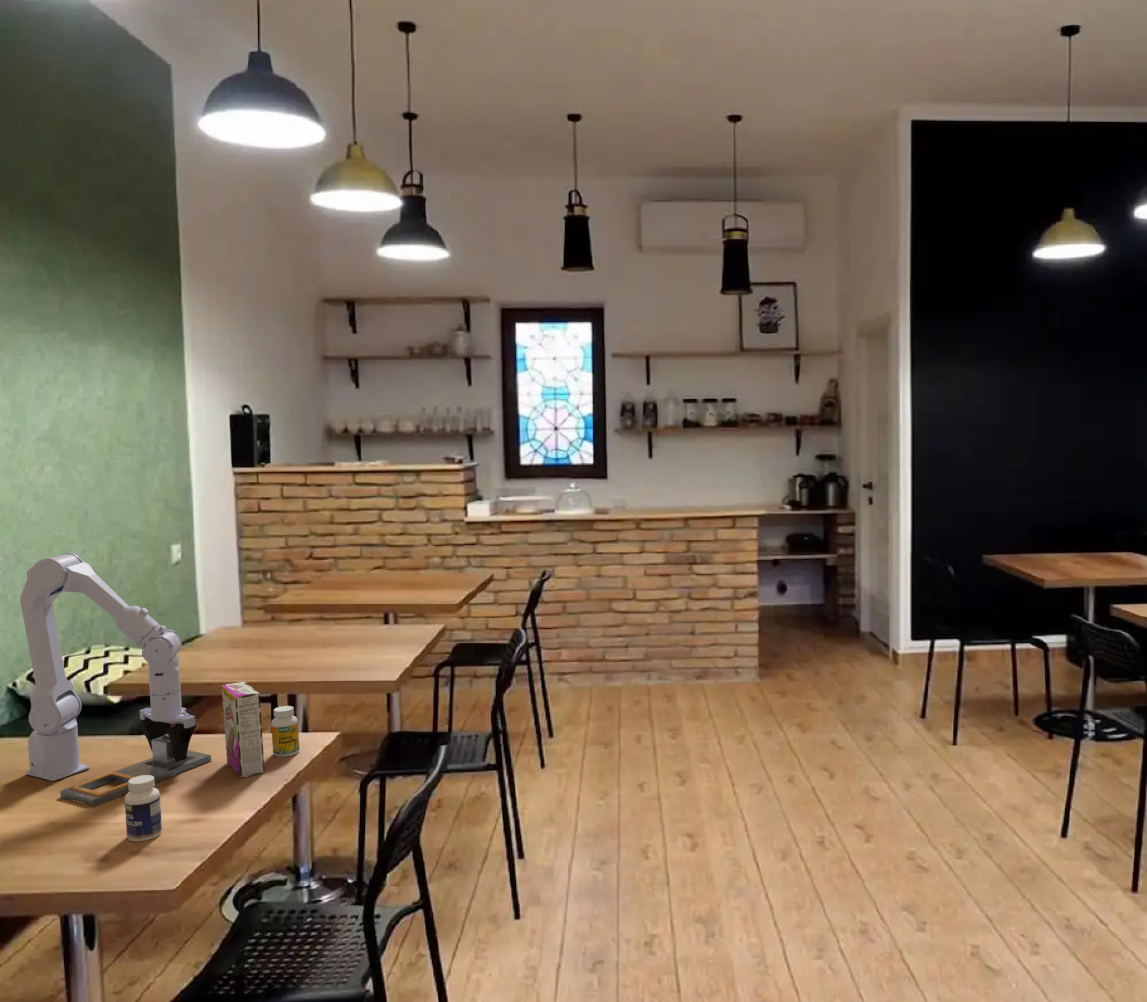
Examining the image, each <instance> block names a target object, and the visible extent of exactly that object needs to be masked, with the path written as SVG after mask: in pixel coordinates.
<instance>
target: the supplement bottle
mask: <svg viewBox="0 0 1147 1002" xmlns="http://www.w3.org/2000/svg"><path fill="white" fill-rule="evenodd" d="M294 710H295V709H294V706H291V705H283V706H278V707H275V708H274V709H273V716H274V718H273V719H272V720H271V722H270V723H271V724H270V725H271V728H270V729H271V739H272V740H271V741H272V754H273V755H274V756H275V757H277V758H287V756H289V757H292V756H295V755H297V754H298V753H299V752H300V738H299V722H298V718H297V717H296V716H295V715H294V714H295V711H294Z"/></svg>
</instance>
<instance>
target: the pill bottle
mask: <svg viewBox="0 0 1147 1002" xmlns="http://www.w3.org/2000/svg"><path fill="white" fill-rule="evenodd" d="M128 788H129V791H130V792H129V793H127V794H125V796H124V808H125V810H124V811H125V824H126V825H125V827H126V838H127V840H128V841H131V842H146V841H150V839H151V840H153V839H155V838H157V837H158V836H160V835H161V833H162V831H163V825H162V823H163V821H162V807H161V793H160V791H159V789H158V788H156V787H155V783H154V777H153V776H151V775H142V776H137V777H134V778H132V779H130V780H129V781H128Z"/></svg>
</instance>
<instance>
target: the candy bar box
mask: <svg viewBox="0 0 1147 1002" xmlns="http://www.w3.org/2000/svg"><path fill="white" fill-rule="evenodd" d="M221 696H222V709H223V710H222V711H223V721H224V735H225V736H224V737H225V750H226V763H227V764H228V765H229V766H230V767H231V768H232V769H233V770H234V772H235V773H237V775H238V776H239V775H240V776H239V777H240V778H241V777H243V778H246V777H245V776H249V777H251V776H250V775H253V776H255V775H254V774H257V775H260V774H263V773H265V772H266V771H265V757H264V743H263V740H264V739H263V727H262V725H263V724H262V713H261V712H262V711H261V698H260V697H261V694H260V692H259V691H258V690H256V689H255V688H253V687H252V686H251V685H250V684H248V682H246V681H237V682H231V683H226V684H222V685H221Z"/></svg>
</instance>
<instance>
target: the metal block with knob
mask: <svg viewBox="0 0 1147 1002" xmlns="http://www.w3.org/2000/svg"><path fill="white" fill-rule="evenodd" d="M151 741H152V751H151V754H152V756H151V757H152V758H153V766H155V767H160V768H164V769H168V768H170V767H173V766H176V765H178V764H181V763H183V762H186V761H187V757H186V759H184V760H181V761H178V762H177V761H175V758H174V753H173V747H172V743H171V740H170V737H169V735H168V733H167V734H165V735H164V736H161V737H159V738H156V739H153V740H151Z"/></svg>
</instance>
